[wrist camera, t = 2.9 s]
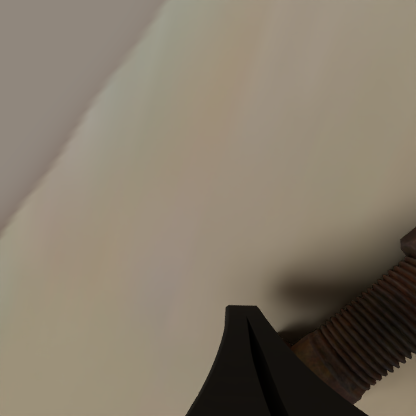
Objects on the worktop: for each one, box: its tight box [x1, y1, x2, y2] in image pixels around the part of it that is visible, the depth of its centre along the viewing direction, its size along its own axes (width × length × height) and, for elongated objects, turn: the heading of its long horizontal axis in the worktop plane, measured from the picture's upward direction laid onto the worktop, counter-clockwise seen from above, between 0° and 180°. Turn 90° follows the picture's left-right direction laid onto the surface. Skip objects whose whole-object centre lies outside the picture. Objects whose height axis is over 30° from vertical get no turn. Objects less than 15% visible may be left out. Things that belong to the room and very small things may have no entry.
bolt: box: [279, 227, 416, 404], centre depth 13 cm, size 6×5×15 cm
